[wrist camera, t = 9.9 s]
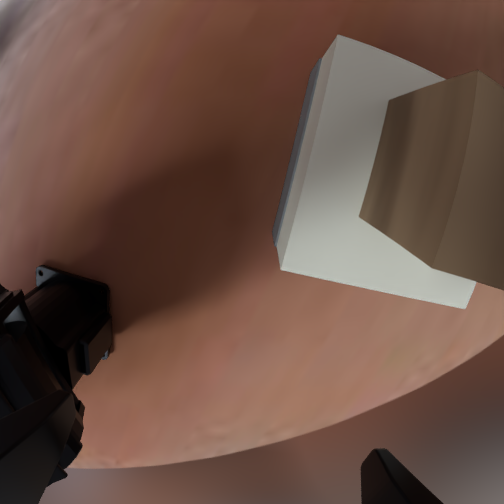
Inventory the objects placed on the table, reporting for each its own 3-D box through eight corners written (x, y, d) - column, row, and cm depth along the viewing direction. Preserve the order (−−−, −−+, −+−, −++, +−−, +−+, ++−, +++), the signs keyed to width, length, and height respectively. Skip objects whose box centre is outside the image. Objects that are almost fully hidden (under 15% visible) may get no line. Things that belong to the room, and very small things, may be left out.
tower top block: (276, 245, 16) (280, 269, 13) (322, 58, 13) (337, 34, 10) (435, 283, 17) (465, 309, 13) (478, 125, 14) (516, 123, 10)
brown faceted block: (358, 216, 12) (431, 268, 6) (388, 100, 11) (477, 69, 5) (451, 247, 12) (537, 301, 7) (479, 144, 11) (576, 153, 5)
